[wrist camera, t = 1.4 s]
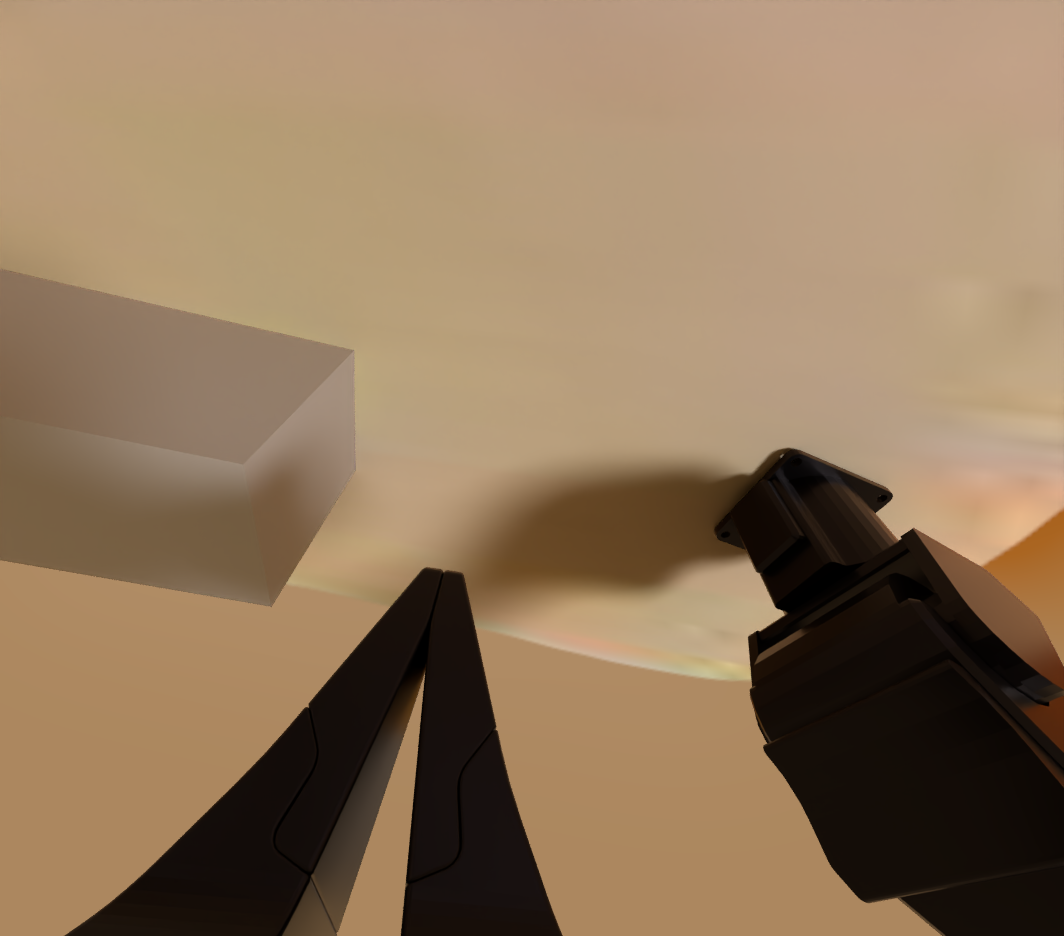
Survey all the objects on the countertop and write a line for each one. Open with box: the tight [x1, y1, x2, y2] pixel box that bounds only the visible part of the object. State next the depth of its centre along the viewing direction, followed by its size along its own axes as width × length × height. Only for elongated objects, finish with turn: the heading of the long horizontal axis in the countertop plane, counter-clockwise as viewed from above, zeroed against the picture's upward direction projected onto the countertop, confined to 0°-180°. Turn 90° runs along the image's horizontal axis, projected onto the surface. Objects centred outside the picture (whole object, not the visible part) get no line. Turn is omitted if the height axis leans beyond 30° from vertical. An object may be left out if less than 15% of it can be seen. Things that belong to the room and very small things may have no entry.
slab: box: [0, 269, 356, 607], centre depth 18 cm, size 16×7×9 cm, turn 77°
